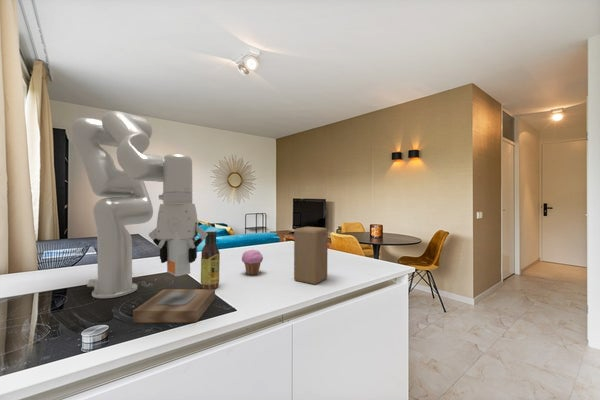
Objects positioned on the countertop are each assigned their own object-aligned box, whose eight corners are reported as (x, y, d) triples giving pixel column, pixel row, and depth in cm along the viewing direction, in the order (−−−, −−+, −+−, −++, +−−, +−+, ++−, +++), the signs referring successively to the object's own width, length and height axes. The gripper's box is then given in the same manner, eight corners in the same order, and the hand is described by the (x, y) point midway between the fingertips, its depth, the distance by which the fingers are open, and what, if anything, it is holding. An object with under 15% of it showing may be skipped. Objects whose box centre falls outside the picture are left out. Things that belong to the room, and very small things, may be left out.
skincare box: (166, 272, 78) (166, 230, 78) (181, 269, 81) (181, 229, 81) (175, 276, 74) (175, 232, 74) (190, 273, 77) (190, 231, 77)
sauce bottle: (213, 291, 93) (213, 232, 92) (197, 289, 94) (196, 232, 94) (222, 284, 99) (222, 230, 99) (207, 283, 100) (207, 229, 100)
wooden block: (328, 278, 107) (328, 227, 107) (315, 285, 99) (316, 230, 99) (306, 274, 113) (306, 226, 112) (293, 280, 104) (293, 228, 104)
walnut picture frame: (132, 322, 69) (132, 309, 69) (163, 298, 85) (163, 288, 85) (196, 322, 70) (196, 310, 70) (215, 298, 86) (215, 288, 86)
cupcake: (264, 275, 111) (264, 251, 110) (242, 277, 108) (242, 252, 108) (261, 270, 119) (261, 247, 119) (240, 271, 117) (240, 248, 117)
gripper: (139, 199, 73) (140, 265, 73) (204, 198, 73) (204, 264, 74) (154, 198, 81) (154, 259, 81) (213, 198, 81) (213, 258, 81)
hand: (178, 261), depth 77 cm, fingers closed on skincare box, 7 cm apart
